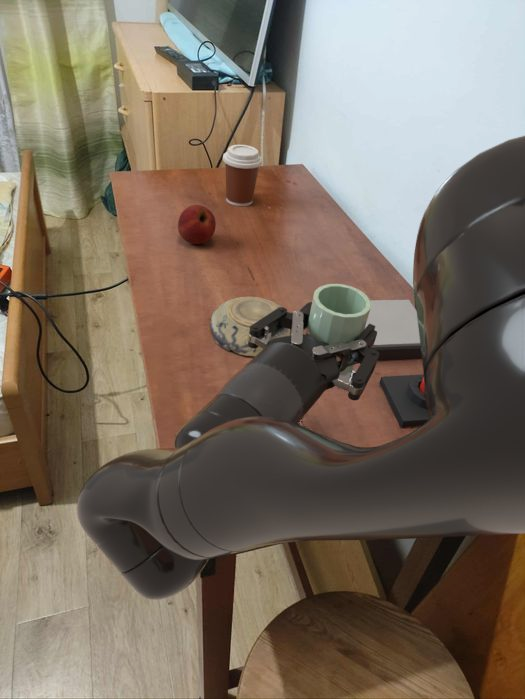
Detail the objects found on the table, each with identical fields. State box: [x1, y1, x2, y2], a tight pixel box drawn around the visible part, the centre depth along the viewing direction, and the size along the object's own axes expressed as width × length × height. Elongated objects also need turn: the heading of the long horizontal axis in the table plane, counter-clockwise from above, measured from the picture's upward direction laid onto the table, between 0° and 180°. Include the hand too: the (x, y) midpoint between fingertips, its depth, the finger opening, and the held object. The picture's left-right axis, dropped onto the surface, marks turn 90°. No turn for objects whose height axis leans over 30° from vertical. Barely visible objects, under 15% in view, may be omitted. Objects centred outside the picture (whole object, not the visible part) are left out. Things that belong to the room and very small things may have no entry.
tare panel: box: [378, 374, 429, 428], centre depth 75 cm, size 11×9×3 cm
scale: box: [365, 299, 422, 362], centre depth 87 cm, size 13×13×3 cm
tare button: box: [420, 378, 425, 394], centre depth 74 cm, size 3×3×2 cm
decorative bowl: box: [209, 295, 290, 358], centre depth 84 cm, size 15×4×15 cm
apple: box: [177, 204, 217, 245], centre depth 103 cm, size 7×8×8 cm
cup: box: [305, 283, 371, 375], centre depth 59 cm, size 6×6×10 cm
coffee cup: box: [222, 144, 263, 207], centre depth 119 cm, size 9×9×12 cm
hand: (343, 318), depth 60 cm, fingers closed on cup, 6 cm apart
